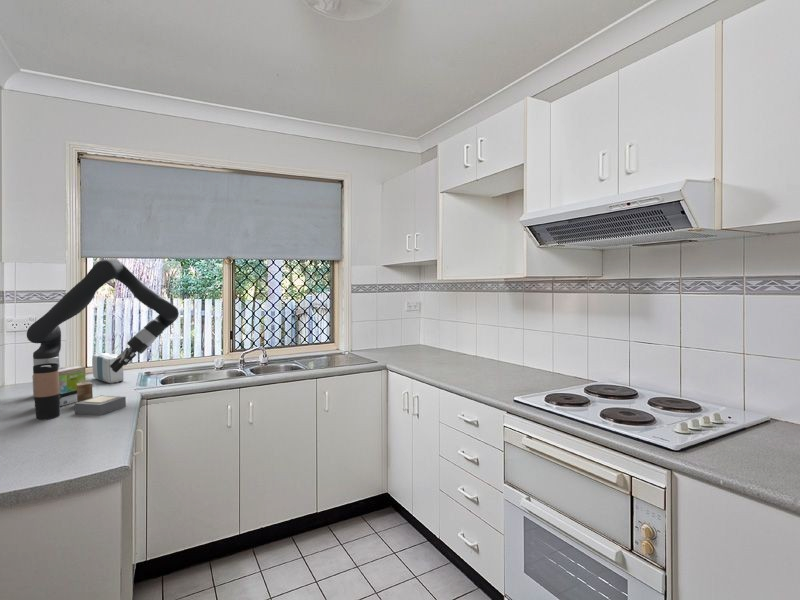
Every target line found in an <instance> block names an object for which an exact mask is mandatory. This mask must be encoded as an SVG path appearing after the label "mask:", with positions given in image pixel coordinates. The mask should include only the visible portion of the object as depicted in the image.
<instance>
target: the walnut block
mask: <svg viewBox="0 0 800 600" xmlns="http://www.w3.org/2000/svg"><path fill="white" fill-rule="evenodd" d="M91 398H94V397H93V383H92V381H86V382H83V383H77V402H81V401H84V400H87V399H91Z"/></svg>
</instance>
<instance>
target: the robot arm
mask: <svg viewBox="0 0 800 600" xmlns="http://www.w3.org/2000/svg"><path fill="white" fill-rule="evenodd" d="M112 280H116V281H118V282H120V283H121V284H123V285H124V286H125V287H126V288H127V289H128V290H129V291H130V292H131V293H132V295H133V296H134V297H135V298H136V300H138V301H139V302H140V303H142V304H143V305H144V306H145V307H147V308H148V309H150V310H153V311H155V313H157V316H156V317H155V318H154V319H152V320H150V321H149V322H148V323H147V324H146V325H145V326H143V327H142V329H140V330H139V331H138V332H136V334H135V335H133V336H132V337H131V338H130V340H128V341H127V342H126V344H127V345H128V346H129V347H126V348H125V349H124V350H123V351H121V353H120V354H118V355H119V356H117V358H116V360H115V361H114V362H113V363H112V364H111V365H110V367H111V368H112V370H113V371H114V372H118V371H119V370H120V369H121V368H122V367H123V368H124V366H127V365H128V364H129V363H130V361H132V360H133V359H134V358H135V357H136V356H137V354H136V353H138V354H141V355H142V354H143V353H144V352H145V351H146V350H147V349H148V348H149V347H150V346H151V345H152V344H153V343H154V341H155V340H156V339H157V338H158V337H159V336H160V335H161V334H162V333H163V332H164V331H165V330H166V329H167V328H168V327H170V326H171V325H172V324H173V323H174V322H175V321H176V320H177V319H179V315H180V314H179V309H178V308H177V307H176V306H175V305H174V304H172V303H171V302H170V301H168V300H166V299H165V298H163V297H162V296H161V295H159V294H158V293H156V292H155V291H154V290H153V289H152V288H150V287H148V286H147V285H146V284H145V283H143V282H142V281H141V280H140V279H139V278H138V277H137V276H136V275H135V274H133V273H132V272H131V271H130V270H129V269H128V267H127V266H126V265H124V263H123V262H121V261H120V260H119V259H117V258H112V257H110V258H104V259H100V260H99V261H97V262H95V264H94V265H93V266H92V268H91V269H90V270H89V271H88V273H87V274H86V275H85V276H84V278H82V279H81V280H80V281H79V282H78V283H76V285H74V286H73V287H72V288H71V289H69V291H67V292H66V293H65V294H64V295H63V296H62V297H61V298H60V300H59V301H57V303H55V305H53V306H52V307H51V308H50V309H49V310H48V311H47V312H46V313H45V314H44V315H43V316H41V317H40V318H39V319H37V320H36V321H35V322H34V323H32V324H31V325H30V326H29V327H28V329H27V330H26V338H27V340H28V341H29V342H30V343H32V344H40V346H39V347H38V348H37V349H36V350H35V351H34V352H33V354H32V360H33V361H32V362H33V363H32V364H33V366H35V365H39V364H47V363H57V364H58V368H60V367H61V366H60V352H61V349H62V348H61V347H62V332H61V328H60V325H61V324H63V323H64V322H66V321H68V320H70V319H71V318H74V317H75V316H77V315H79V314H80V313H81V312H82V311H83V310H84V309H85V308H86V307H88V305H90V303H91V302H92V300H94V297H95V295H96V293H97V292H98V290H99V289H101V288H102V286H105V284H106V283H108V282H109V281H112ZM31 378H32V394H33V397H34V380H33V375H32V377H31Z"/></svg>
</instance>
